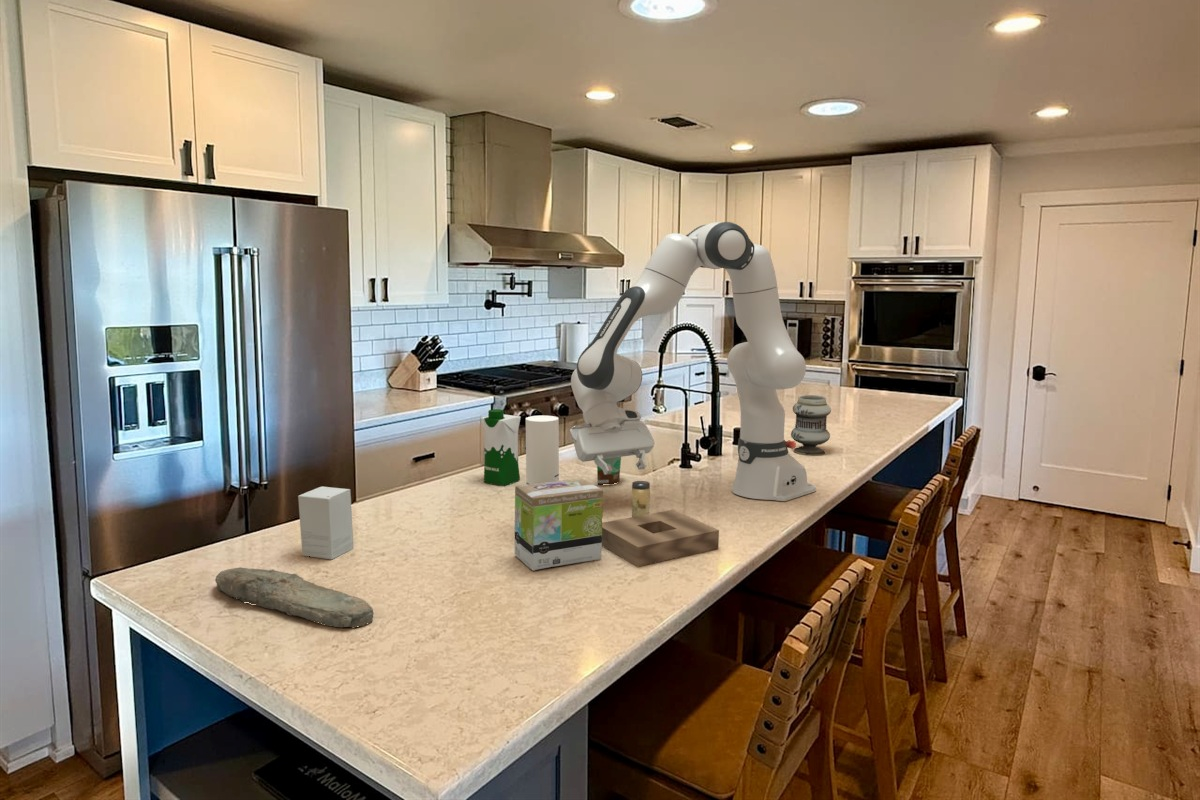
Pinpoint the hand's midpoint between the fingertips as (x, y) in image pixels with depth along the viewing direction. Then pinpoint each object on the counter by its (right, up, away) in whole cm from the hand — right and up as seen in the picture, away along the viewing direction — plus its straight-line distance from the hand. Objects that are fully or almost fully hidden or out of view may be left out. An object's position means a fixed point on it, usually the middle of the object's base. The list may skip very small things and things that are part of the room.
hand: (626, 470), depth 178 cm
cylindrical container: (-19, -12, -10) cm, 24 cm away
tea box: (-14, -15, -26) cm, 34 cm away
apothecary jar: (+61, 0, +66) cm, 90 cm away
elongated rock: (-59, -19, -48) cm, 78 cm away
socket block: (+6, -14, -19) cm, 24 cm away
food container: (-3, -6, +30) cm, 30 cm away
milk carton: (-33, -6, +29) cm, 44 cm away
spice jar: (+3, -11, -4) cm, 12 cm away
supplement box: (-61, -14, -24) cm, 67 cm away
